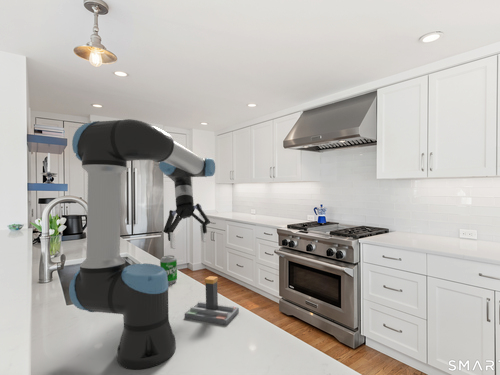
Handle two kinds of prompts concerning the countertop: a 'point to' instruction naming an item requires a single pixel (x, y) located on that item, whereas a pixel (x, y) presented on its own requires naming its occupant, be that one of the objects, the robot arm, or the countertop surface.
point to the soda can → (169, 267)
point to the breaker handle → (211, 293)
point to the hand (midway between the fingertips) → (188, 245)
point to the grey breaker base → (212, 313)
